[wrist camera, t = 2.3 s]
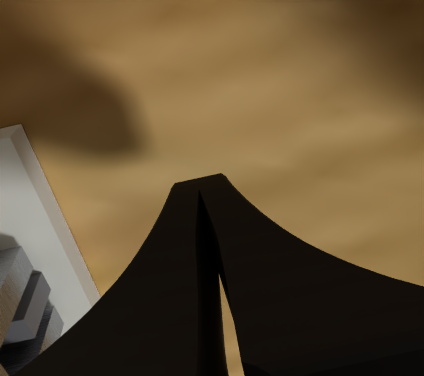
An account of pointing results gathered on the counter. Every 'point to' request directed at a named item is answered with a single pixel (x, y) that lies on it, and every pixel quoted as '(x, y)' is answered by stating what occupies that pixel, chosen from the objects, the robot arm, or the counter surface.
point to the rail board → (39, 241)
